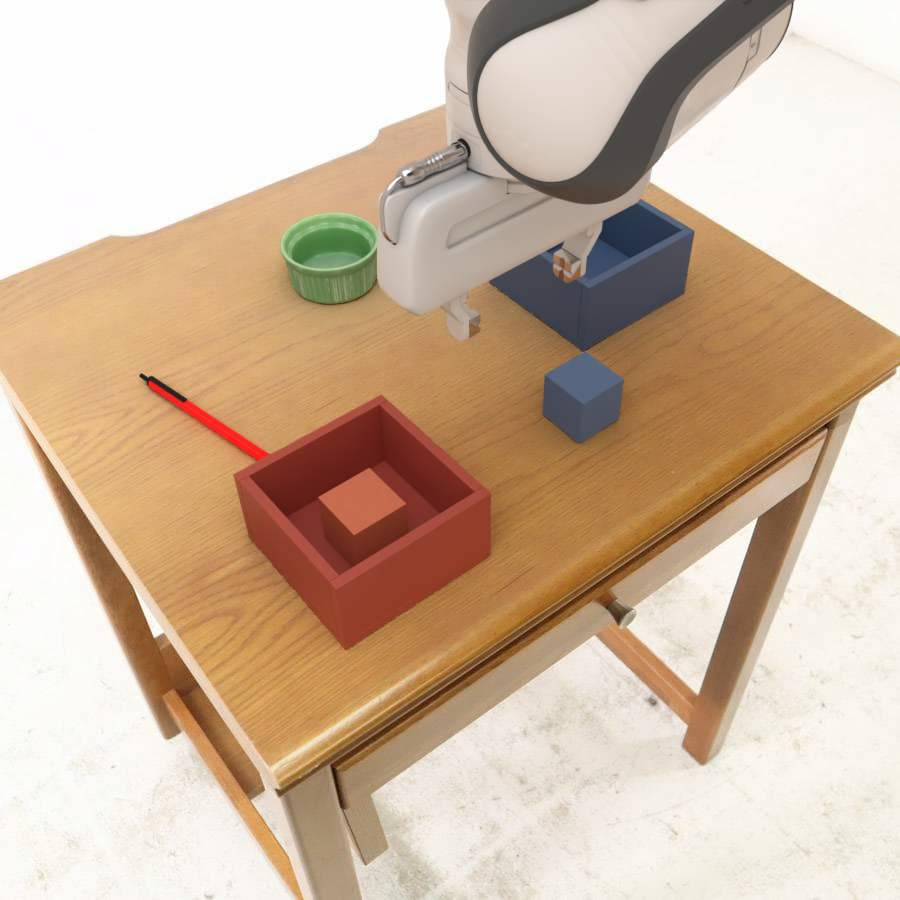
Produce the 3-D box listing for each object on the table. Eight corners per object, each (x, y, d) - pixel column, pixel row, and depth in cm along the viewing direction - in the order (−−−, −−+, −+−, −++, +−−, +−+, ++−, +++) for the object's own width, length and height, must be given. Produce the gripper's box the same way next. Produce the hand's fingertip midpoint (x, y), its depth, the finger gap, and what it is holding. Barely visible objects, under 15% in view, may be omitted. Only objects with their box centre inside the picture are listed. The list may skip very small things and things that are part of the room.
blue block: (619, 419, 86) (624, 379, 82) (579, 444, 84) (582, 404, 80) (581, 390, 88) (585, 350, 85) (541, 414, 86) (544, 374, 83)
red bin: (490, 555, 76) (491, 492, 71) (345, 650, 71) (335, 589, 66) (387, 457, 83) (381, 394, 78) (248, 536, 78) (232, 474, 73)
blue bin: (684, 293, 97) (695, 230, 92) (583, 351, 91) (588, 288, 86) (588, 232, 104) (593, 170, 99) (489, 282, 98) (489, 220, 93)
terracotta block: (409, 543, 76) (406, 503, 73) (359, 575, 74) (354, 535, 71) (373, 507, 78) (369, 467, 75) (324, 537, 77) (317, 497, 73)
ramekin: (277, 262, 101) (270, 222, 98) (368, 243, 103) (365, 204, 100) (297, 318, 95) (291, 278, 92) (394, 297, 97) (391, 257, 94)
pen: (146, 376, 90) (143, 366, 89) (304, 481, 81) (302, 471, 81) (138, 382, 90) (134, 372, 89) (295, 488, 81) (293, 478, 80)
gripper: (413, 203, 55) (424, 397, 65) (681, 77, 64) (656, 265, 74) (343, 156, 59) (364, 346, 69) (607, 42, 67) (592, 226, 77)
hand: (517, 303), depth 71 cm, fingers open, 8 cm apart
